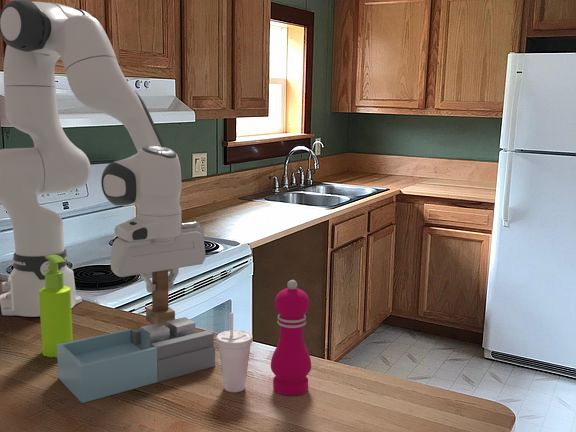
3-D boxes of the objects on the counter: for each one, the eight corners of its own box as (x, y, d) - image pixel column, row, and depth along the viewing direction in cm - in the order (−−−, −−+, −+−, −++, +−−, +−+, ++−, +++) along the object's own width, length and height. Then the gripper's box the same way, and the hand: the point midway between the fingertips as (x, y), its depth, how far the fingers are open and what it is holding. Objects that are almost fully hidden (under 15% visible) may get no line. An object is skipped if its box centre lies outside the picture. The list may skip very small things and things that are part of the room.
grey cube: (167, 340, 124) (167, 321, 123) (185, 336, 126) (185, 317, 126) (177, 346, 121) (176, 327, 120) (195, 342, 123) (195, 322, 122)
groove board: (130, 360, 124) (129, 328, 123) (185, 346, 131) (184, 316, 130) (158, 382, 115) (157, 348, 114) (215, 366, 122) (214, 334, 121)
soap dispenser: (51, 361, 123) (45, 261, 119) (38, 351, 128) (32, 254, 124) (80, 354, 127) (75, 257, 123) (66, 344, 132) (61, 250, 128)
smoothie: (212, 383, 115) (211, 309, 112) (245, 377, 117) (245, 305, 115) (222, 398, 109) (222, 320, 106) (257, 392, 111) (258, 316, 109)
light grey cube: (141, 346, 121) (140, 326, 120) (160, 342, 123) (159, 322, 122) (150, 353, 117) (150, 333, 117) (169, 348, 120) (169, 328, 119)
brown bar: (146, 320, 135) (145, 266, 133) (163, 316, 138) (162, 263, 136) (157, 328, 131) (157, 272, 129) (175, 324, 134) (174, 269, 131)
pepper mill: (307, 399, 109) (309, 287, 105) (266, 394, 110) (267, 284, 107) (313, 381, 116) (316, 276, 112) (275, 377, 117) (276, 273, 114)
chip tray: (58, 378, 116) (56, 344, 114) (130, 360, 124) (129, 328, 123) (81, 403, 106) (80, 366, 105) (157, 382, 115) (156, 348, 114)
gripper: (196, 218, 139) (196, 278, 142) (106, 228, 127) (108, 294, 130) (211, 223, 134) (210, 286, 137) (119, 234, 122) (120, 302, 125)
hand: (160, 290), depth 133 cm, fingers closed on brown bar, 2 cm apart
